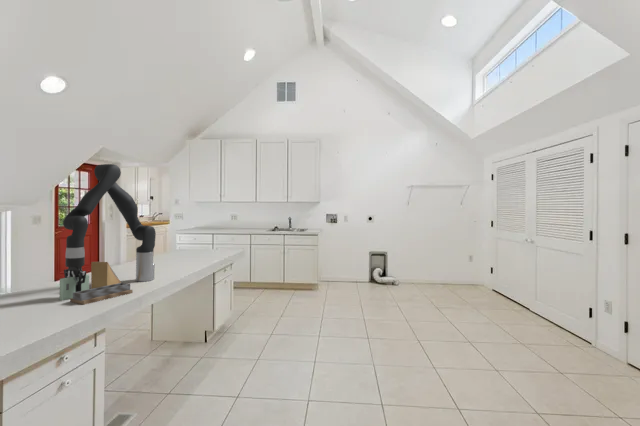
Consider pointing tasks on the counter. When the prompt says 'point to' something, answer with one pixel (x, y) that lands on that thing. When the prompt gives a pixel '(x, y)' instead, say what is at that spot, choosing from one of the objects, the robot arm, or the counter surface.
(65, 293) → the door panel
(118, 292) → the door track
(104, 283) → the sandwich container
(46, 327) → the counter surface
